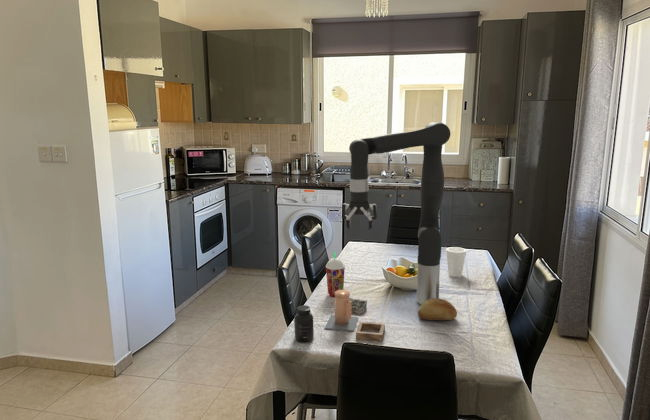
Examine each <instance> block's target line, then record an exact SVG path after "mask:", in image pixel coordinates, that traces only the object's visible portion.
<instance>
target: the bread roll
mask: <svg viewBox="0 0 650 420" xmlns="http://www.w3.org/2000/svg"><path fill="white" fill-rule="evenodd" d="M417 315H418V317H419V318H420V319H422V320H426V321H427V320H429V321H430V320H431V321H433V320H435V321H436V320H437V321H438V320H439V321H442V320H443V321H452V320H454V319H455V318H457V315H458V312H457V308H456V307H455V306H454V304H452V303H451V302H450V301H448V300H446V299H443V298H439V299H437V298H433V299H428V300H427V301H425V302H424V303H423V304H420V306H419V308H418V310H417Z"/></svg>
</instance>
